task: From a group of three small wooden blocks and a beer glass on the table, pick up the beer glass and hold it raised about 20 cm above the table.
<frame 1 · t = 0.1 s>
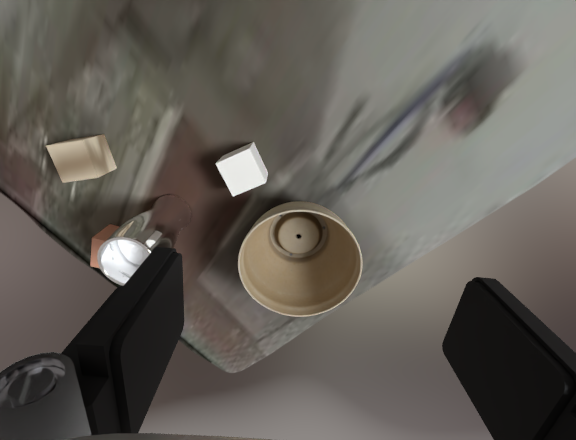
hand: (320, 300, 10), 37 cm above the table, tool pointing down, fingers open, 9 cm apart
rust block: (124, 241, 51), on the table
planter bowl: (297, 231, 50), on the table
cream block: (245, 164, 46), on the table
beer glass: (172, 212, 49), on the table
beech block: (94, 154, 45), on the table
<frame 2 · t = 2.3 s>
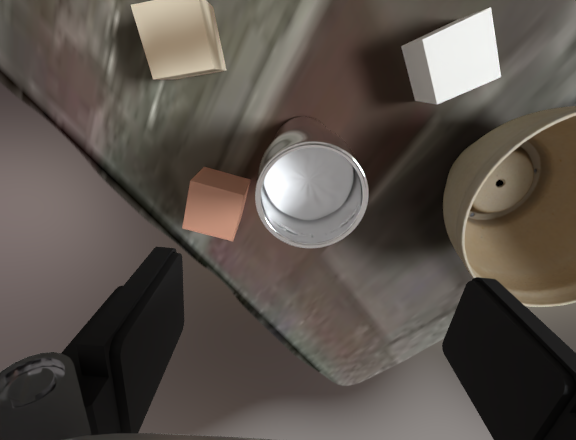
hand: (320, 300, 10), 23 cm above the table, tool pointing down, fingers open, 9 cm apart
rust block: (223, 194, 34), on the table
planter bowl: (488, 177, 33), on the table
cream block: (434, 62, 28), on the table
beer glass: (302, 147, 32), on the table
beech block: (193, 45, 28), on the table
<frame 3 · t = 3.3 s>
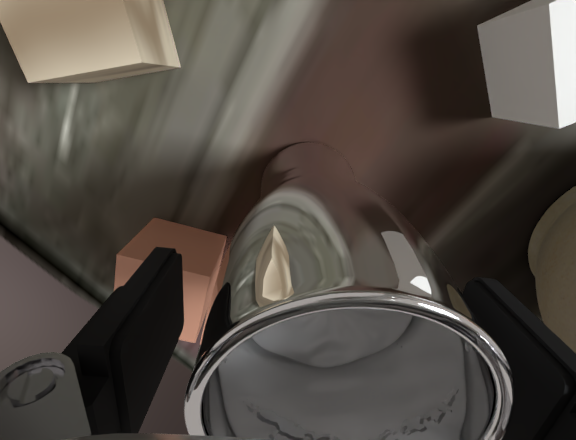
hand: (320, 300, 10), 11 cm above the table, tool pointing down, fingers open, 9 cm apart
rust block: (185, 256, 22), on the table
cream block: (531, 53, 17), on the table
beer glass: (307, 188, 20), on the table
beech block: (122, 23, 16), on the table
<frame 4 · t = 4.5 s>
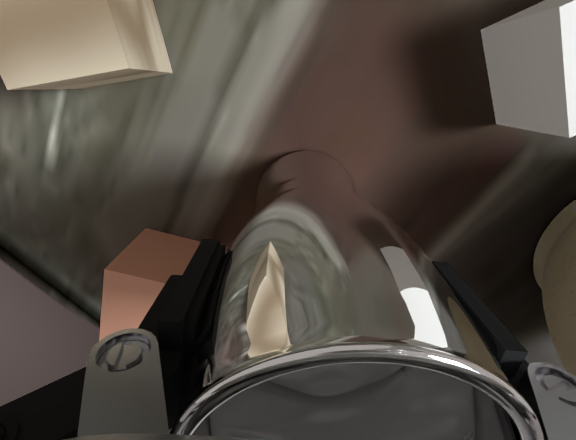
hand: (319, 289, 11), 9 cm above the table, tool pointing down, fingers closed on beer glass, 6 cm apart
rust block: (179, 268, 21), on the table
cream block: (536, 58, 16), on the table
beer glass: (305, 198, 19), on the table, touching gripper
beech block: (110, 27, 16), on the table
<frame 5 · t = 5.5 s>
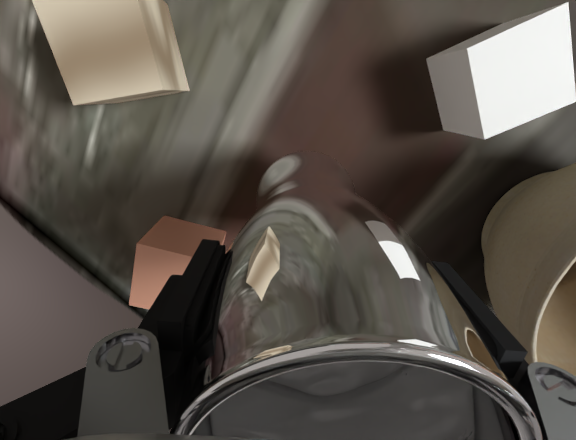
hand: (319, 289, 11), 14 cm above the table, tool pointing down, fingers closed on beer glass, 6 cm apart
rust block: (190, 249, 26), on the table
planter bowl: (534, 225, 25), on the table
cream block: (470, 79, 21), on the table
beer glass: (305, 198, 19), point 4 cm above the table, touching gripper
beech block: (142, 56, 20), on the table
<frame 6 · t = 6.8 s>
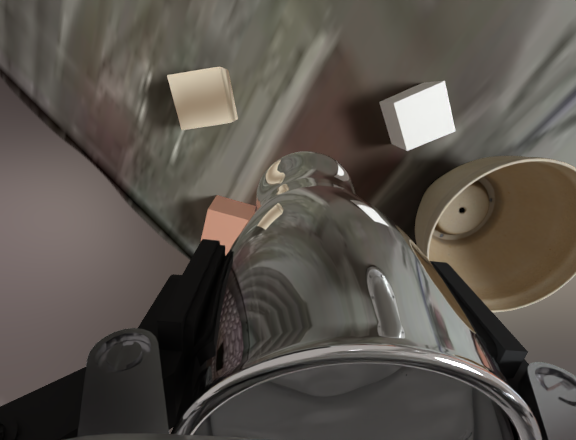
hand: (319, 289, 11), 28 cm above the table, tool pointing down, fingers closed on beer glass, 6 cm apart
rust block: (231, 218, 40), on the table
planter bowl: (453, 204, 39), on the table
cream block: (406, 114, 35), on the table
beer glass: (305, 198, 19), point 18 cm above the table, touching gripper
beech block: (211, 98, 34), on the table
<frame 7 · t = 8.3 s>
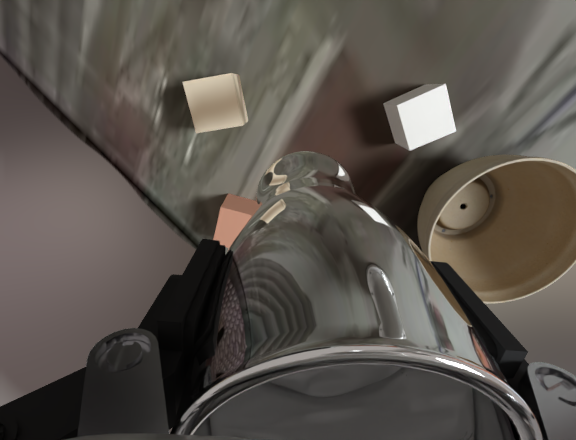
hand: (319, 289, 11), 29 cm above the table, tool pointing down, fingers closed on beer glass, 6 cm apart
rust block: (242, 215, 42), on the table
planter bowl: (455, 201, 41), on the table
cream block: (409, 114, 37), on the table
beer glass: (305, 198, 19), point 20 cm above the table, touching gripper
beech block: (222, 102, 36), on the table
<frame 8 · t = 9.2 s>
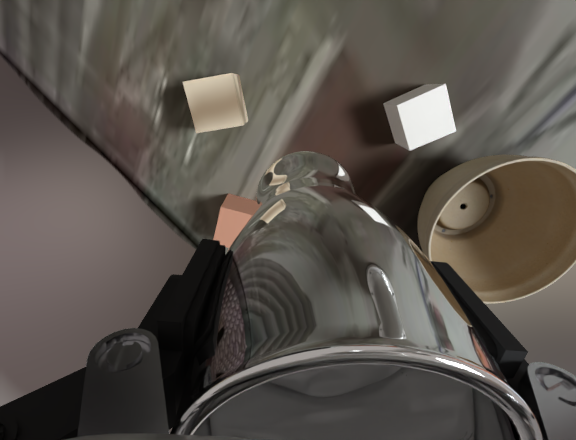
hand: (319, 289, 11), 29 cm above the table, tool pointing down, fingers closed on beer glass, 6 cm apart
rust block: (242, 215, 42), on the table
planter bowl: (455, 201, 41), on the table
cream block: (409, 114, 37), on the table
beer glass: (305, 198, 19), point 20 cm above the table, touching gripper
beech block: (222, 102, 36), on the table
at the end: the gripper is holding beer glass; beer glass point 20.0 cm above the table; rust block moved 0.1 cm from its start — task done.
